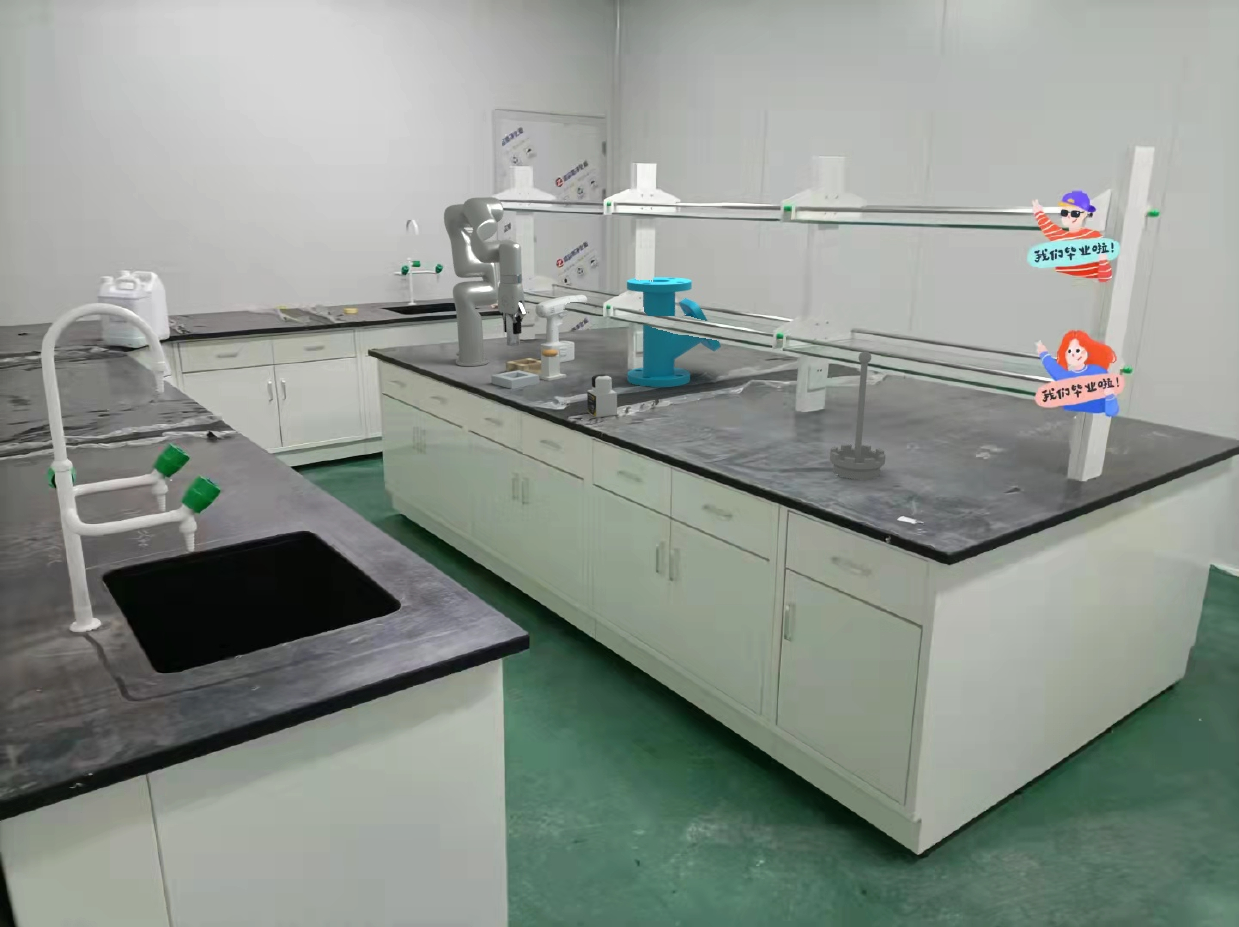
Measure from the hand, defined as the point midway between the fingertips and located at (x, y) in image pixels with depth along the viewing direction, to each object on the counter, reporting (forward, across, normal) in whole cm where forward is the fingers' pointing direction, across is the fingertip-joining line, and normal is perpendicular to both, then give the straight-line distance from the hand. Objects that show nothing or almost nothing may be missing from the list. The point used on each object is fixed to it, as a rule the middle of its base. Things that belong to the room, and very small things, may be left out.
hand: (512, 332), depth 311 cm
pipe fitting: (+18, +35, +44) cm, 59 cm away
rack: (+18, -11, +14) cm, 26 cm away
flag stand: (+16, +140, +1) cm, 141 cm away
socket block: (+18, +1, 0) cm, 18 cm away
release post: (+18, +2, +15) cm, 24 cm away
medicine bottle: (+18, +54, -6) cm, 57 cm away
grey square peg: (+4, 0, 0) cm, 4 cm away
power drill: (+19, -20, +39) cm, 48 cm away
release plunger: (+17, +2, +15) cm, 22 cm away
